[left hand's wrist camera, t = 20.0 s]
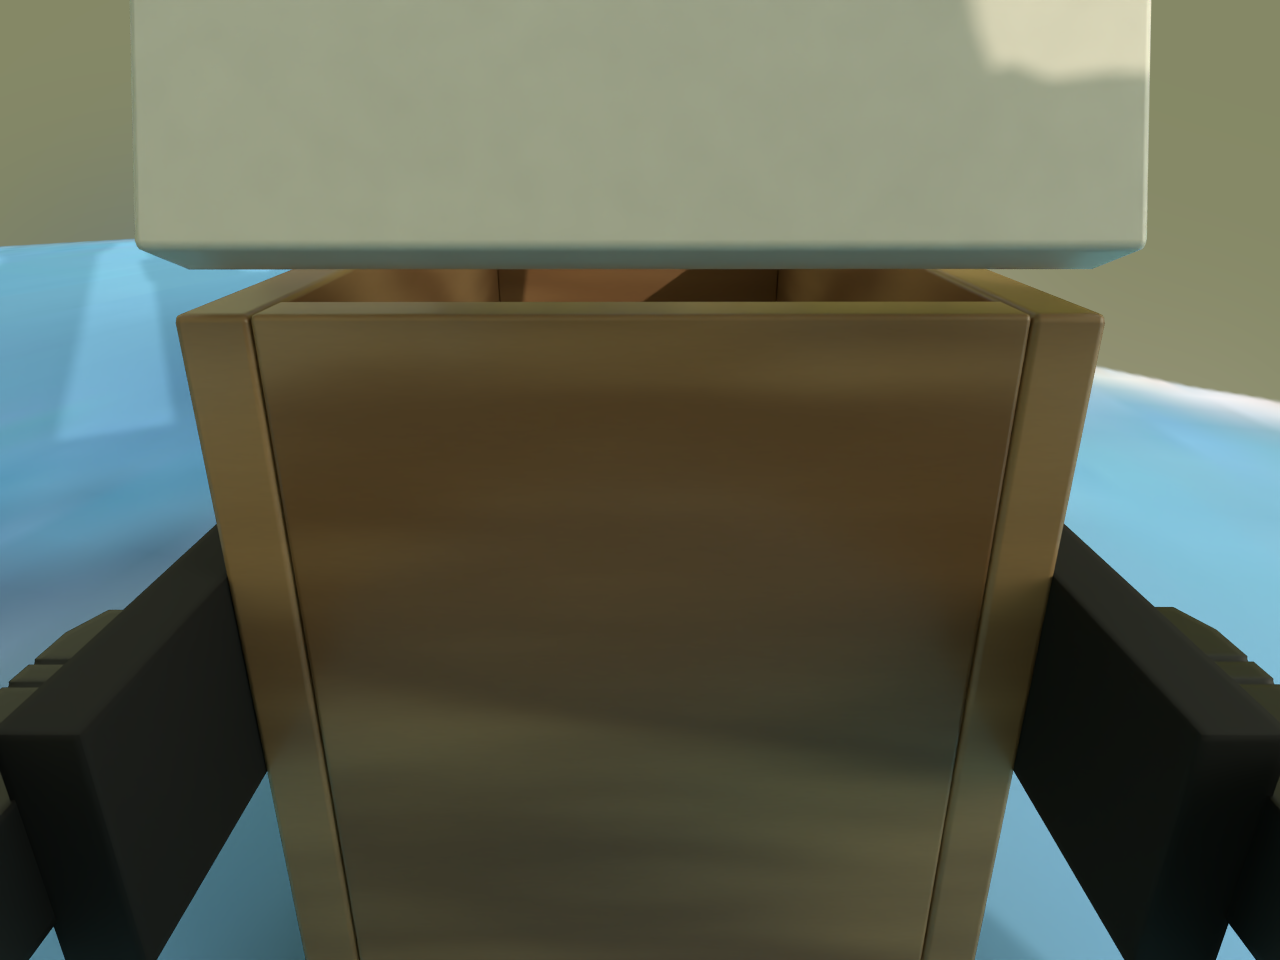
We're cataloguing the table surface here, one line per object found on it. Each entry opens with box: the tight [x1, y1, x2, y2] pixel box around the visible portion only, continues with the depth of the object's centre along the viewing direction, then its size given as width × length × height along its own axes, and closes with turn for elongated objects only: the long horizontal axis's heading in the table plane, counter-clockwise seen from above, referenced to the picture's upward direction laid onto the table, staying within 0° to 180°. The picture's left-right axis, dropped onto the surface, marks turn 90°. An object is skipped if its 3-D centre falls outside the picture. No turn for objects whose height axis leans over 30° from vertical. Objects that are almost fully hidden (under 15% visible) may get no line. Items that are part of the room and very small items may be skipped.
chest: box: [176, 269, 1105, 960], centre depth 18 cm, size 16×9×10 cm, turn 0°
